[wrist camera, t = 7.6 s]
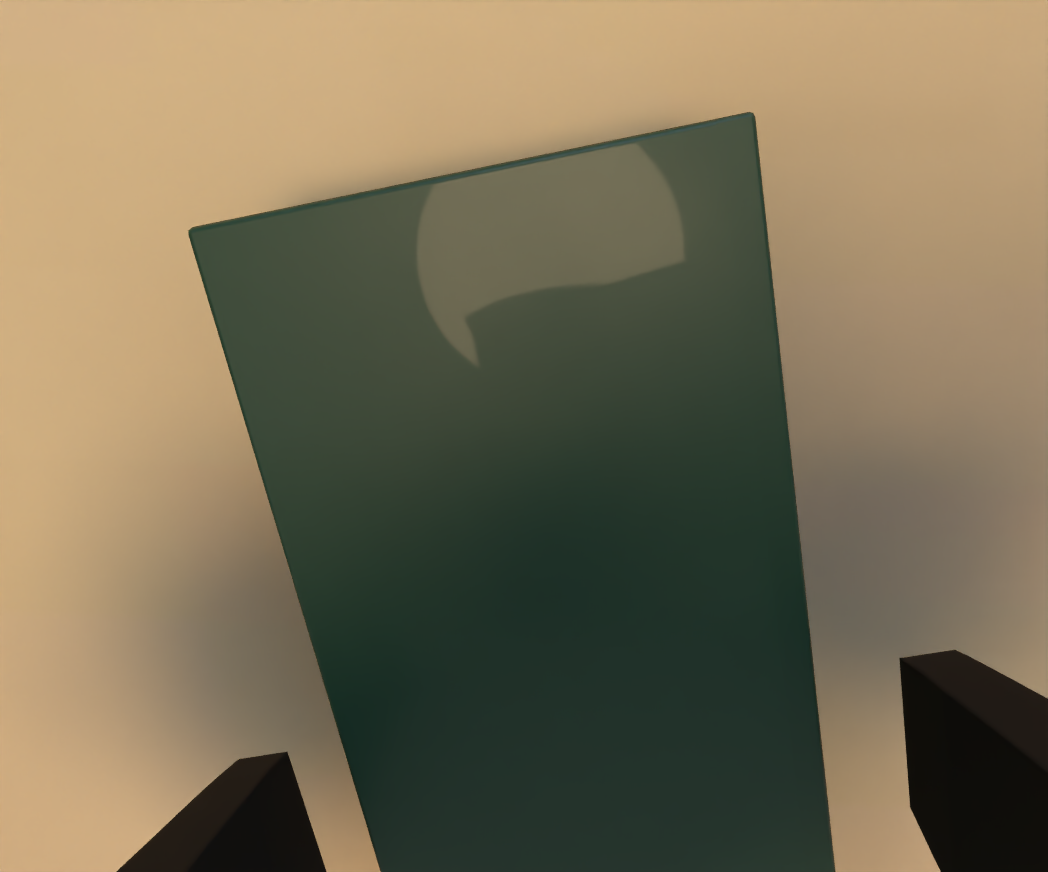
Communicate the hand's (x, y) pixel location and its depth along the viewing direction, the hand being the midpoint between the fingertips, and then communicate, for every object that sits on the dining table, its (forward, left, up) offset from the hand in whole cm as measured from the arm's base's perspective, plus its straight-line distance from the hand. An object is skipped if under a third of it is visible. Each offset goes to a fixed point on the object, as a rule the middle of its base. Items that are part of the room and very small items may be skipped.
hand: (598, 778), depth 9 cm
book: (0, 0, -3) cm, 3 cm away
